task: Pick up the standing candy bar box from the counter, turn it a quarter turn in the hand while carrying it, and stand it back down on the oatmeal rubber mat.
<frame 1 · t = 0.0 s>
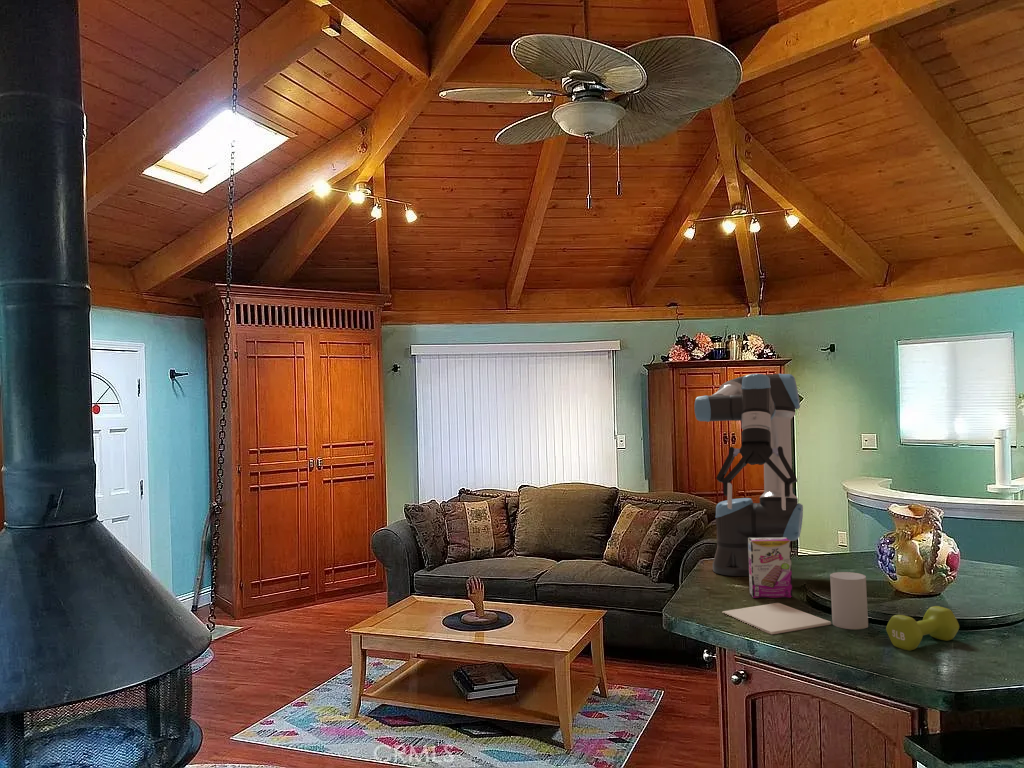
hand: (756, 508, 201), 28 cm above the counter, tool tilted 20°, fingers open, 13 cm apart
dumbbell: (923, 644, 175), on the counter
cup: (850, 625, 191), on the counter
mat: (775, 618, 198), on the counter
candy bar box: (771, 597, 219), on the counter
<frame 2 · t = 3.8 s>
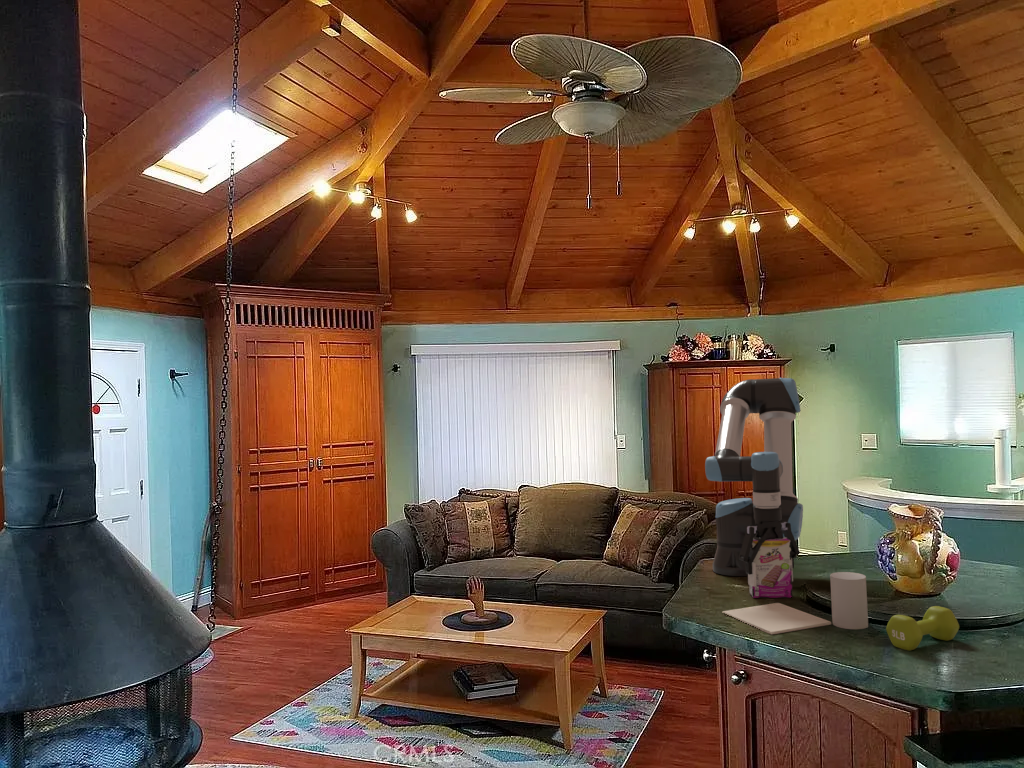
hand: (770, 582, 219), 4 cm above the counter, tool pointing down, fingers closed on candy bar box, 12 cm apart
candy bar box: (771, 597, 219), on the counter, touching gripper
everything else where it was.
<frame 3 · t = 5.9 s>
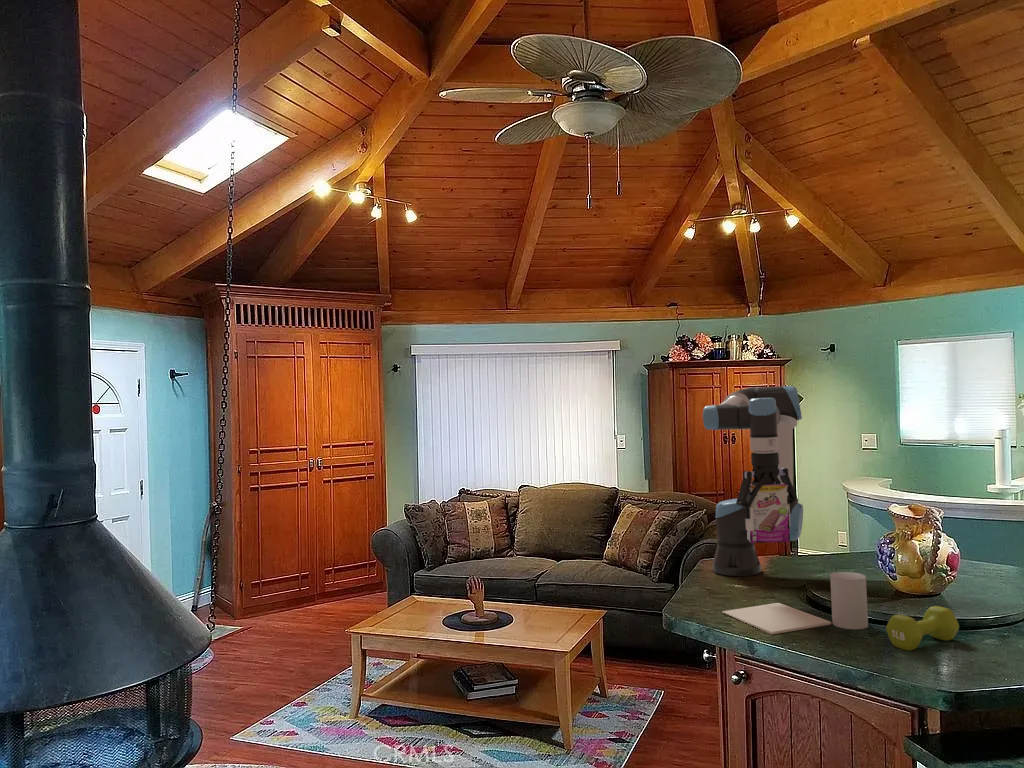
hand: (768, 527, 220), 19 cm above the counter, tool pointing down, fingers closed on candy bar box, 12 cm apart
candy bar box: (768, 542, 220), point 15 cm above the counter, touching gripper
everything else where it was.
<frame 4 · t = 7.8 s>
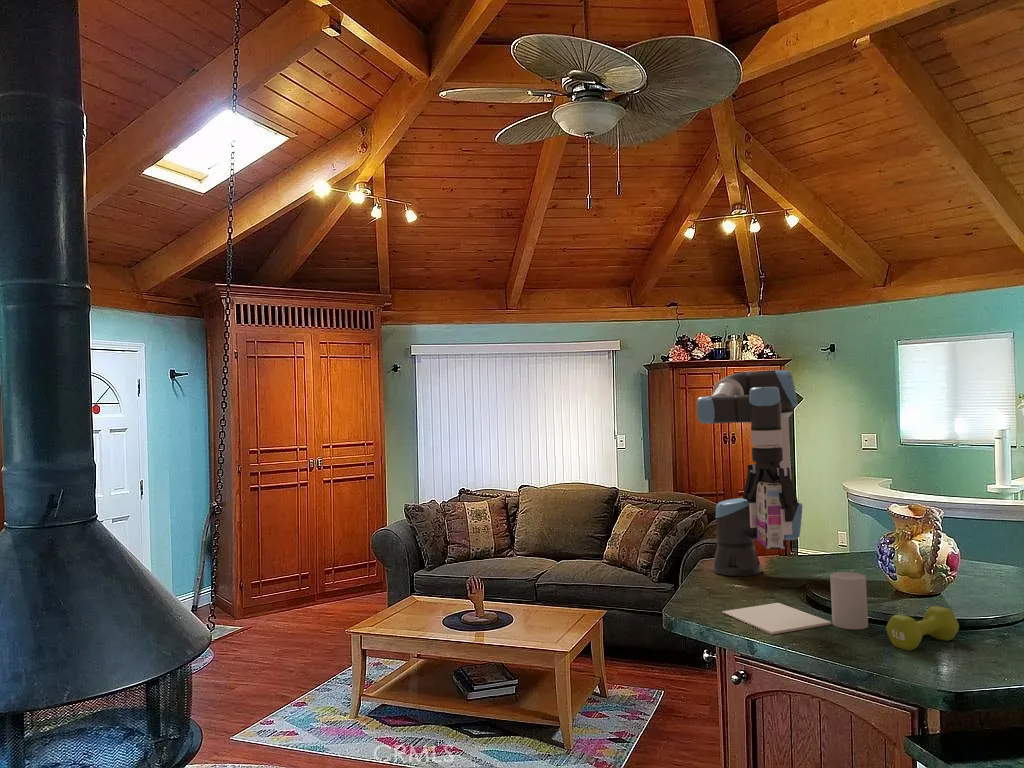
hand: (770, 530, 198), 22 cm above the counter, tool pointing down, fingers closed on candy bar box, 12 cm apart
candy bar box: (771, 546, 198), point 19 cm above the counter, touching gripper
everything else where it was.
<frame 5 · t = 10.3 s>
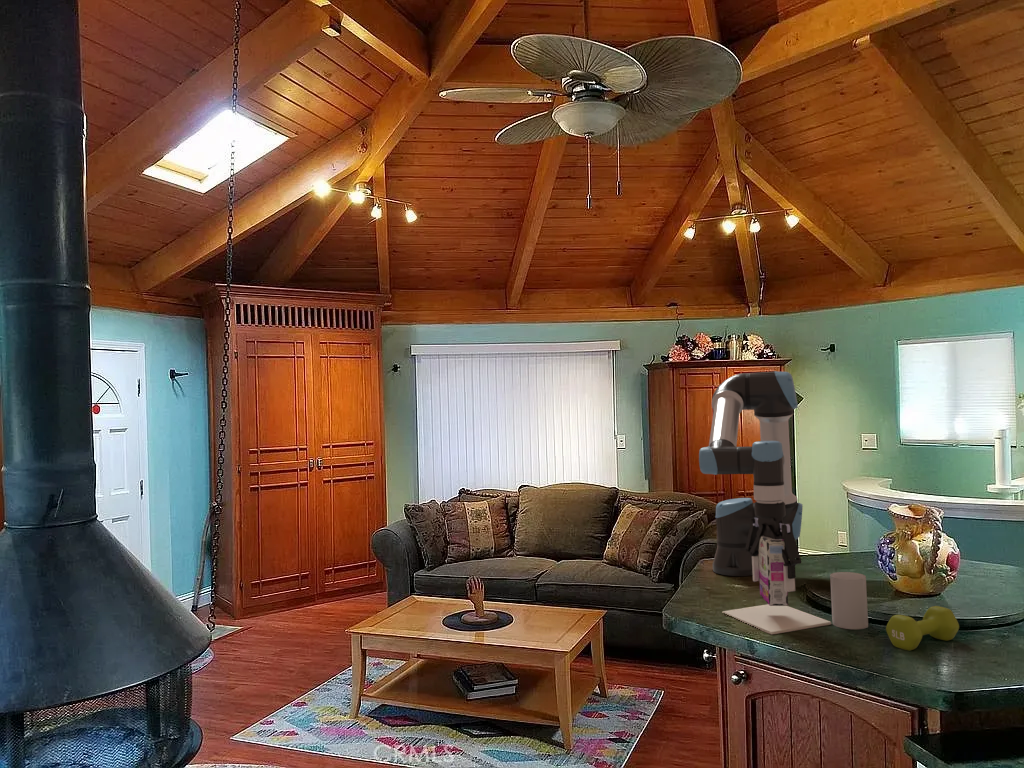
hand: (773, 585, 198), 8 cm above the counter, tool pointing down, fingers closed on candy bar box, 12 cm apart
candy bar box: (774, 601, 198), point 4 cm above the counter, touching gripper
everything else where it was.
when the fingers open (5 cm above the counter, at t = 12.1 s): candy bar box drops 1 cm, resting on mat.
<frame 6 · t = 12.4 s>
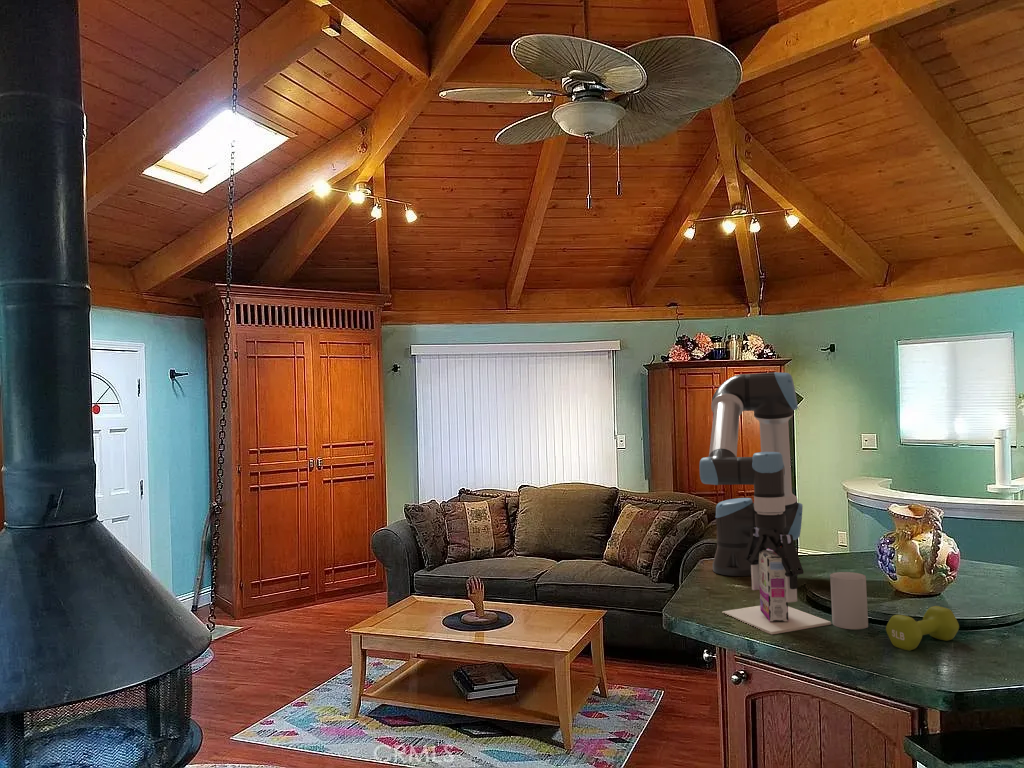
hand: (773, 595, 198), 6 cm above the counter, tool pointing down, fingers open, 13 cm apart
candy bar box: (774, 617, 198), resting on mat
everything else where it was.
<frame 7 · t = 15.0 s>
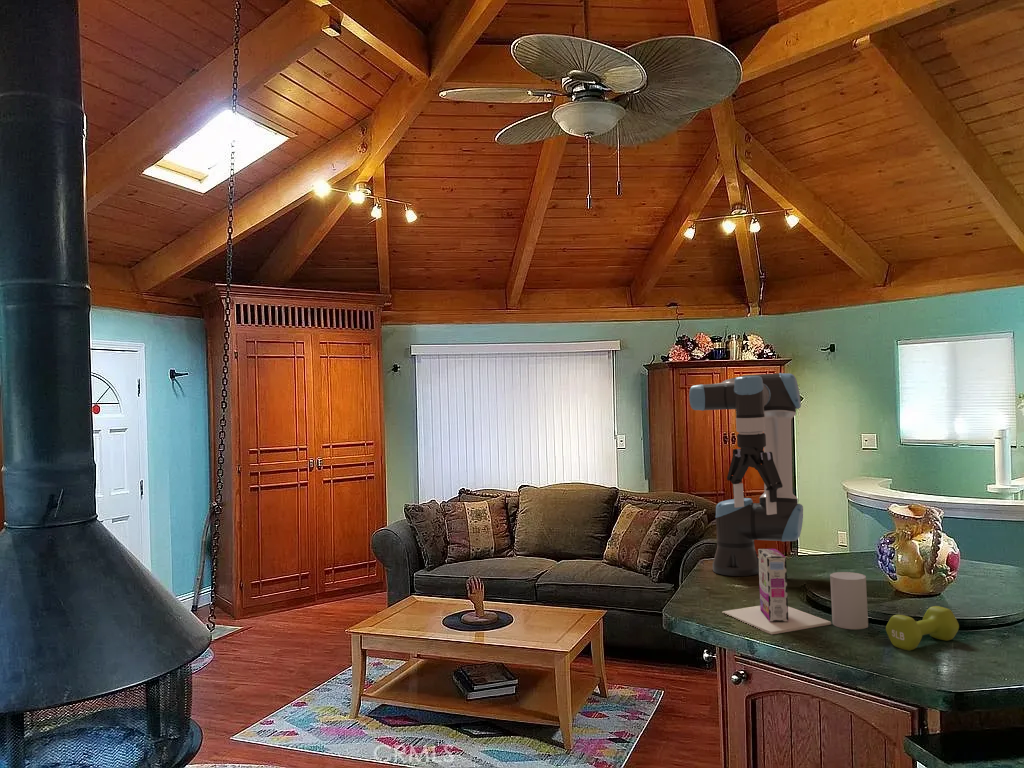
hand: (755, 510, 210), 26 cm above the counter, tool pointing down, fingers open, 13 cm apart
nothing on the counter moved.
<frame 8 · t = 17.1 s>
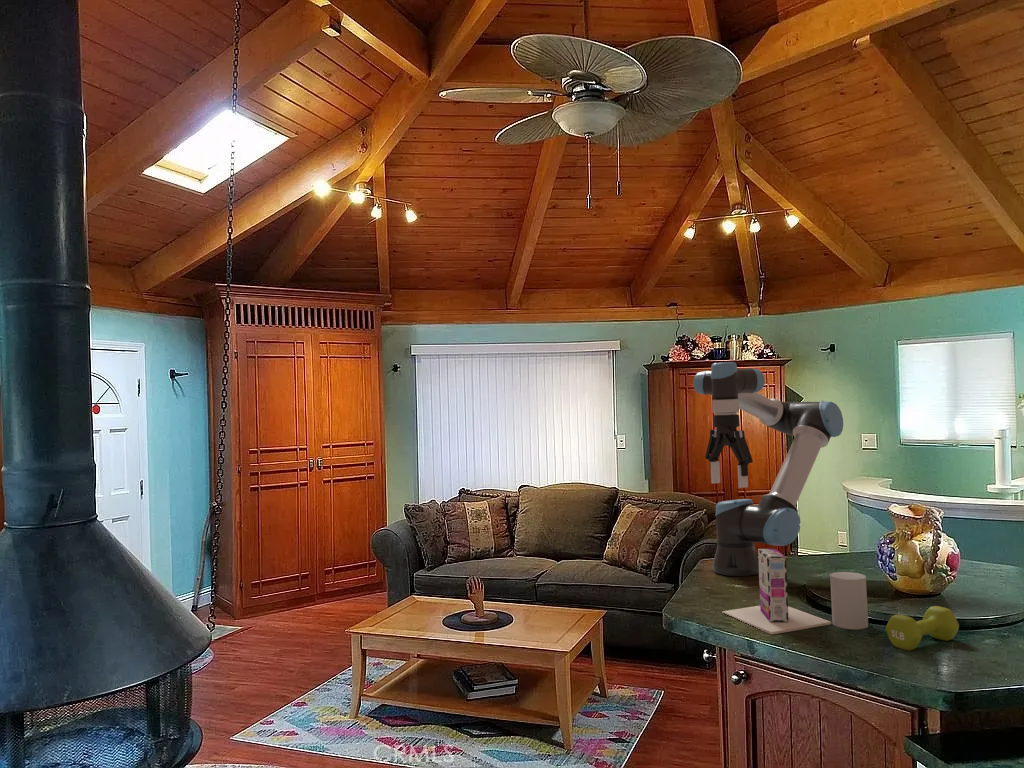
hand: (729, 485, 230), 31 cm above the counter, tool pointing down, fingers open, 13 cm apart
nothing on the counter moved.
at the end: candy bar box inside the target area on the mat (0.2 cm from its centre), point 0.4 cm above the mat's base; candy bar box tilted 0°; the gripper is holding nothing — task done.
